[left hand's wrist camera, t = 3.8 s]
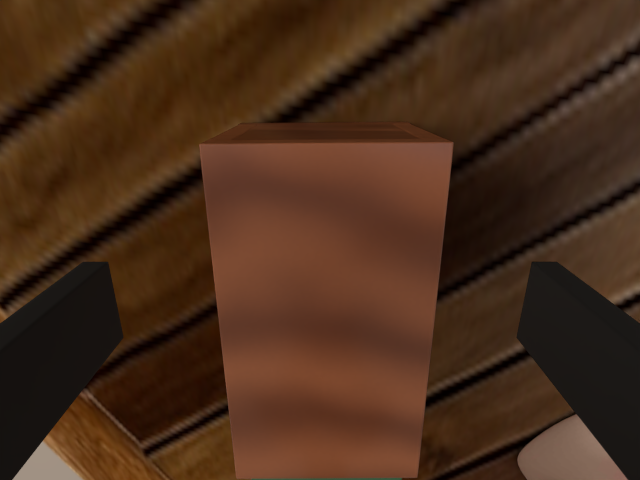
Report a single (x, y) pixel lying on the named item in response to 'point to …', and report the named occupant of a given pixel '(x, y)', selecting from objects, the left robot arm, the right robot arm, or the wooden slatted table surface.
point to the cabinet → (326, 291)
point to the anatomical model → (567, 455)
